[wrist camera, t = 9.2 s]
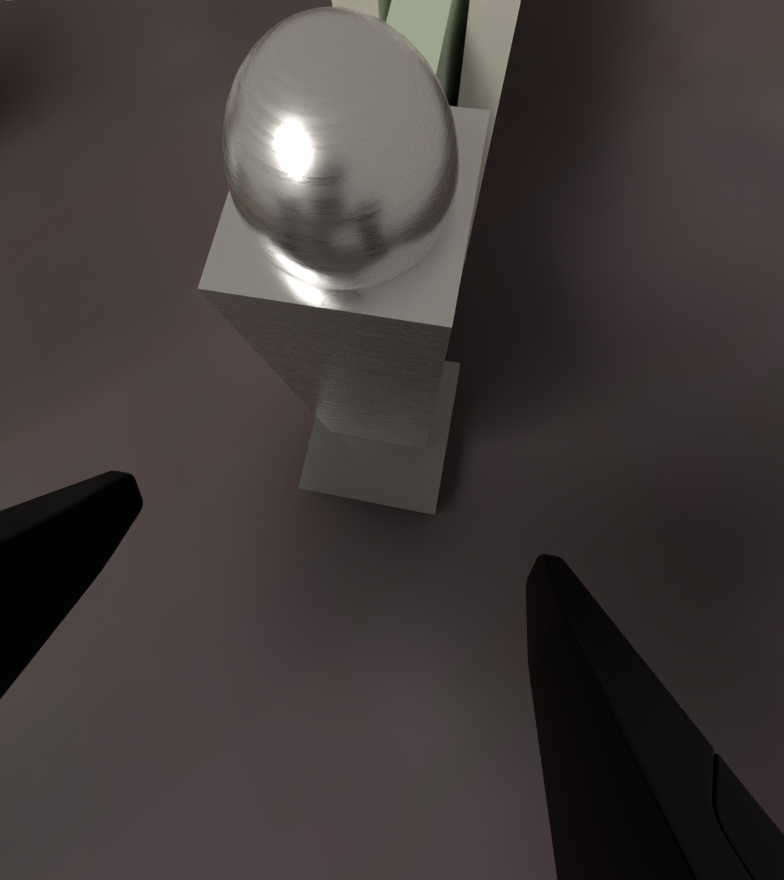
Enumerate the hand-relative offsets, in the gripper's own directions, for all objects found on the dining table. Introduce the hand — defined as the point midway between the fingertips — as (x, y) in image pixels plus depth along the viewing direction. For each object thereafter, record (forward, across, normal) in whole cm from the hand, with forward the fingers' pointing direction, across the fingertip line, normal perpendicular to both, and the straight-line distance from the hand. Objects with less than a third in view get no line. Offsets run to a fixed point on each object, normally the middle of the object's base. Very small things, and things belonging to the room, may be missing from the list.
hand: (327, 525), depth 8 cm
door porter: (+7, 0, +2) cm, 8 cm away
